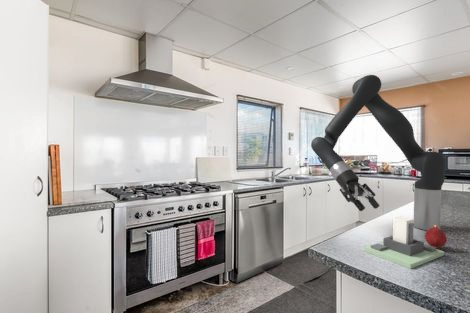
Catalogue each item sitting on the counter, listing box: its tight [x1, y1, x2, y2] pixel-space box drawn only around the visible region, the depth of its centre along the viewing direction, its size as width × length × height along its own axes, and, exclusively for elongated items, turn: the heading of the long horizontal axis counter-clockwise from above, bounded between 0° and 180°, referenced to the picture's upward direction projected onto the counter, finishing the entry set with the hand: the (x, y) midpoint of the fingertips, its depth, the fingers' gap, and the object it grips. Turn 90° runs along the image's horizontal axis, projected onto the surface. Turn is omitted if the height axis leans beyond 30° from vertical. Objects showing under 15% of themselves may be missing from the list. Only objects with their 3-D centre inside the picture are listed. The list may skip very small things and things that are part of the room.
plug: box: [392, 216, 415, 245], centre depth 79 cm, size 4×5×10 cm
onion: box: [424, 225, 448, 250], centre depth 83 cm, size 6×6×8 cm
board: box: [363, 235, 445, 270], centre depth 79 cm, size 20×14×4 cm
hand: (370, 208), depth 90 cm, fingers open, 8 cm apart
